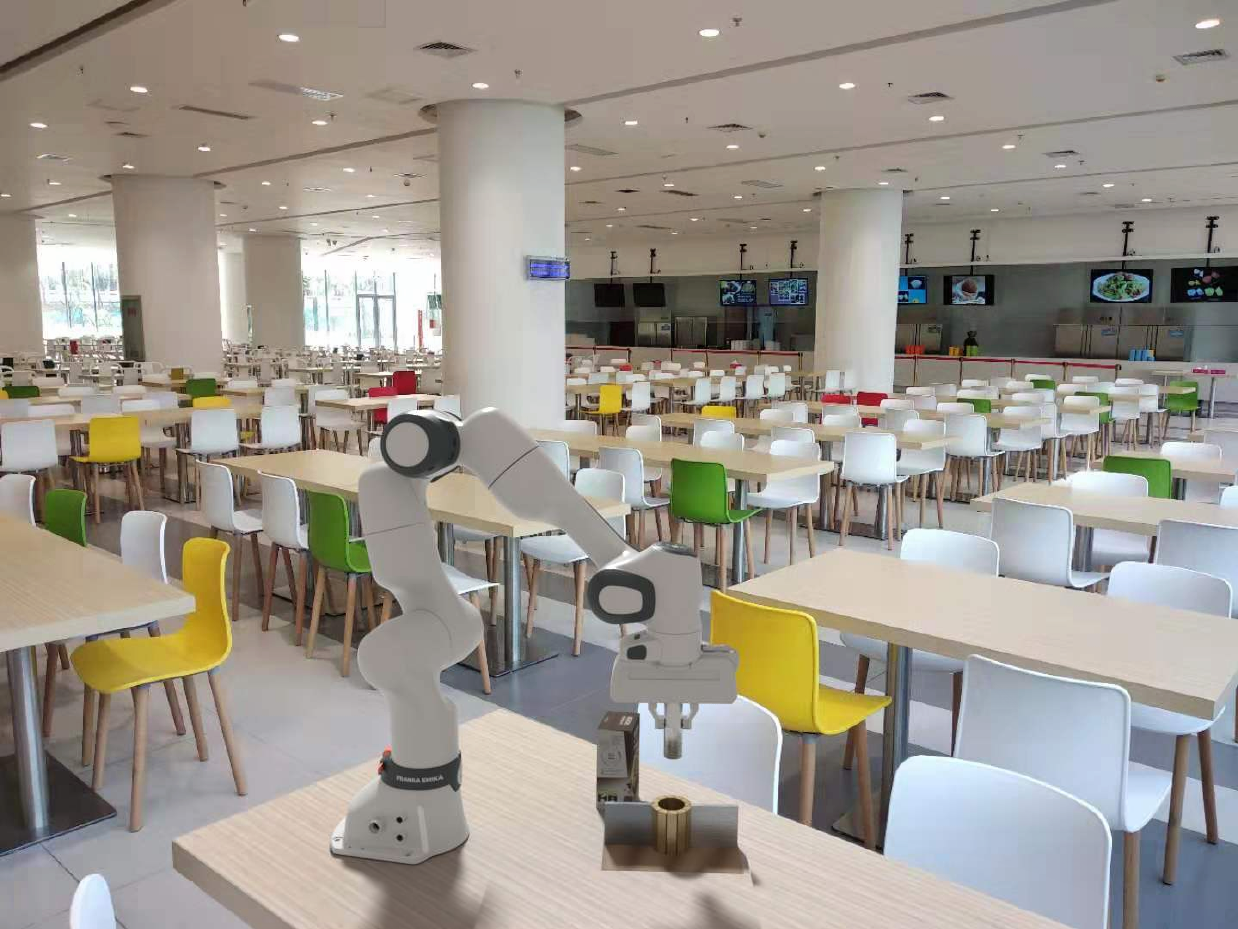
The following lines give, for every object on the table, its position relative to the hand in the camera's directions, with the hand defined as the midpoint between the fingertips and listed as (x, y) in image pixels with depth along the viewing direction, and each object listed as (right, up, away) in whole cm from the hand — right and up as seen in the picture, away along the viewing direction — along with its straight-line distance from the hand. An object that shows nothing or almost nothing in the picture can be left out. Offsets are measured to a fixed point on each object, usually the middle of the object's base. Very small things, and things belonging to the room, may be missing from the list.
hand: (673, 728), depth 153 cm
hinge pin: (0, -5, 0) cm, 5 cm away
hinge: (0, -20, +2) cm, 20 cm away
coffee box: (-9, -19, +19) cm, 28 cm away
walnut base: (0, -22, +1) cm, 21 cm away
